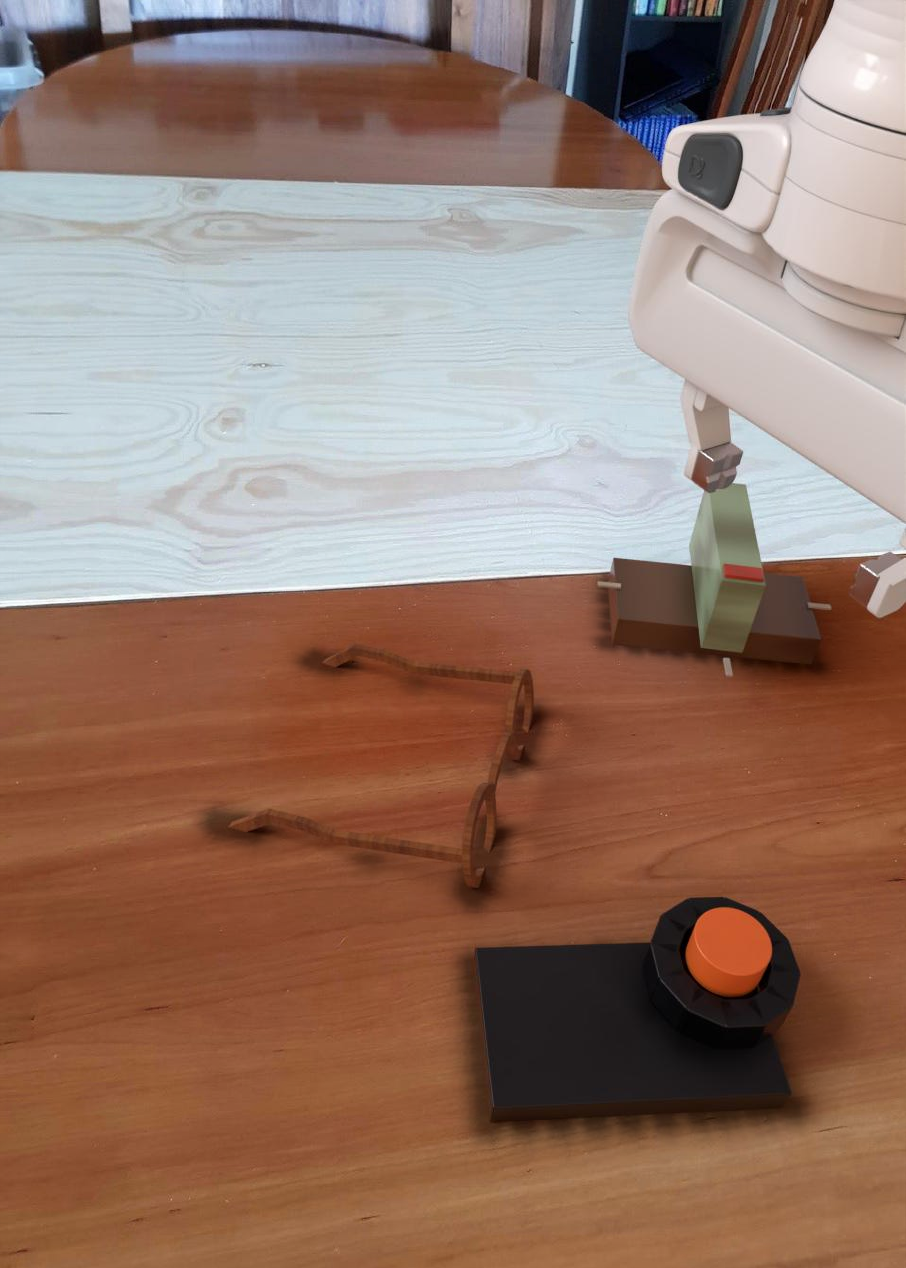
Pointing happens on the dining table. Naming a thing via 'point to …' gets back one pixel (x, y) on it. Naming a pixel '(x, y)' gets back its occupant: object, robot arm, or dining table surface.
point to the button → (728, 952)
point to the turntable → (667, 617)
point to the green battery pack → (726, 569)
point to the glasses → (482, 793)
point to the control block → (629, 1027)
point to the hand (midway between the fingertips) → (785, 539)
